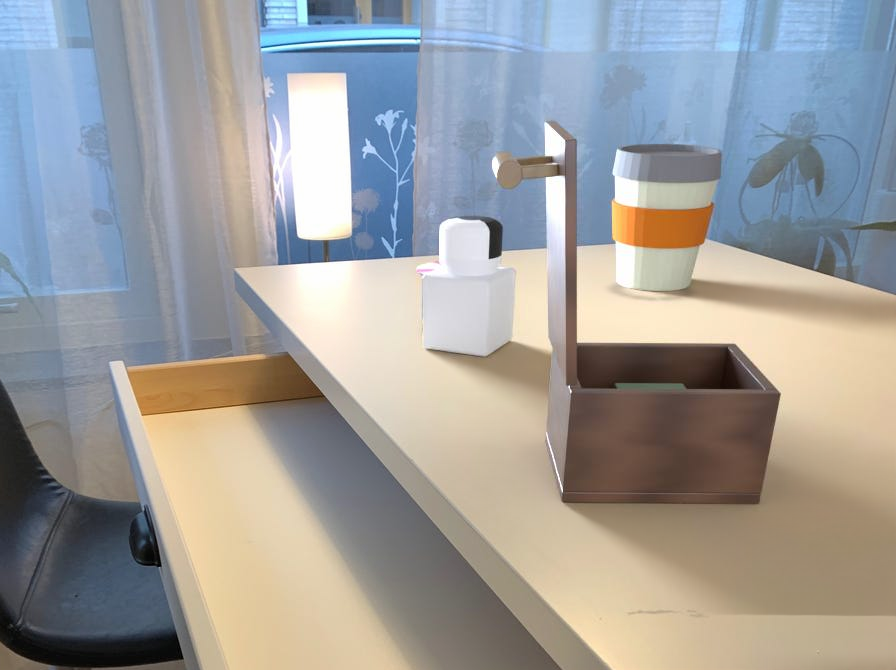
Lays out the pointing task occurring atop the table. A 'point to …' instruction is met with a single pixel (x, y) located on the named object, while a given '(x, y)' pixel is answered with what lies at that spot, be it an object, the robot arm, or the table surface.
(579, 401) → the box
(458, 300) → the medicine bottle
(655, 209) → the reusable coffee cup
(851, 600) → the table surface
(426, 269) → the cd
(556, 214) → the lid
